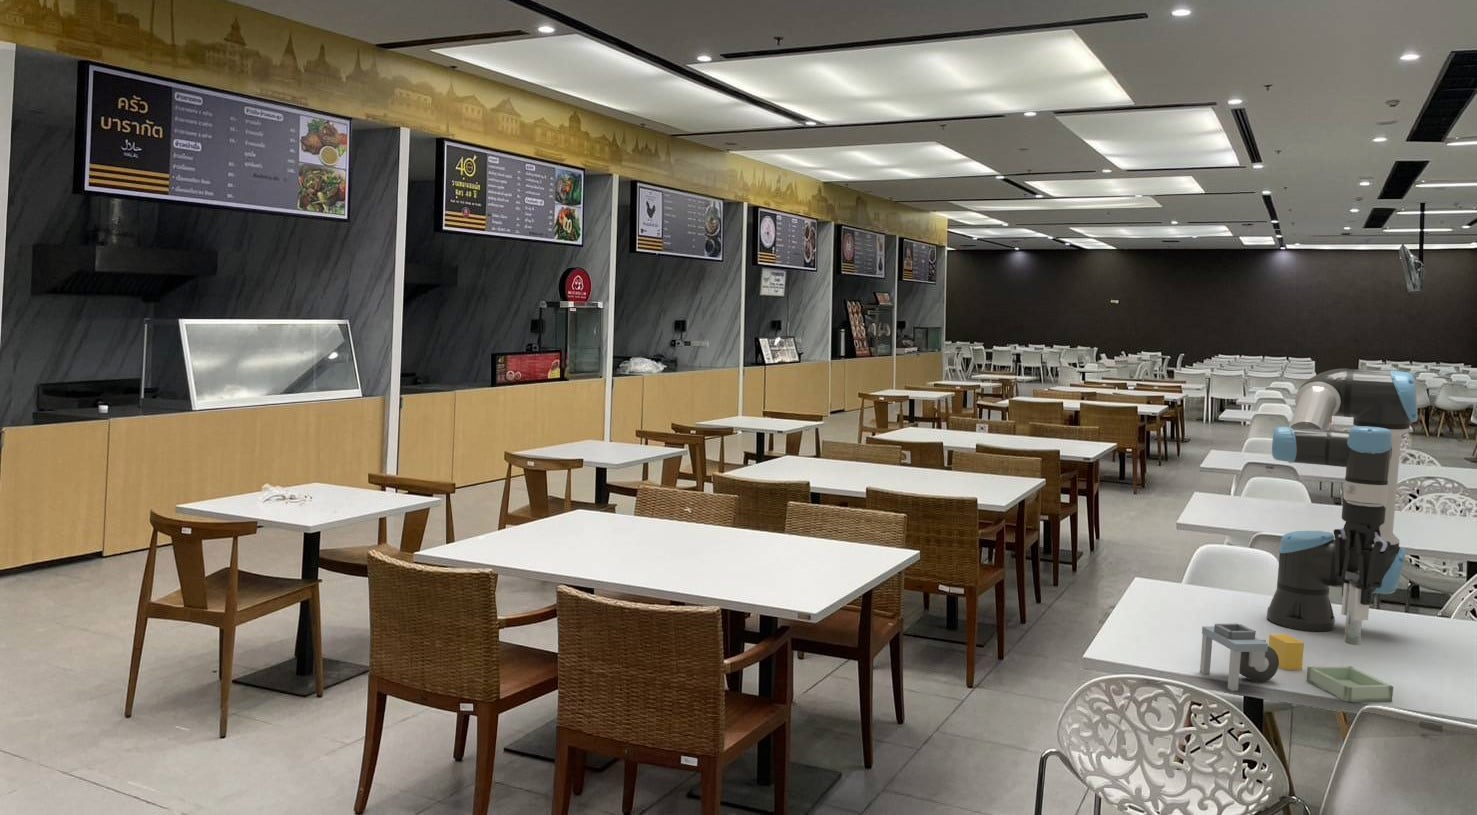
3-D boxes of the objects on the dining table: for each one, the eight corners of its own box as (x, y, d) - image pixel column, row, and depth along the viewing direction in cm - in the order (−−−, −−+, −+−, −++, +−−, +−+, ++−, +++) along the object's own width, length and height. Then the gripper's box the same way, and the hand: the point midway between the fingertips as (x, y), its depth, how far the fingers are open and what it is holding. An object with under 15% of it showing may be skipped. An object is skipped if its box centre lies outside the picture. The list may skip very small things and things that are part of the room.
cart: (1199, 671, 225) (1202, 619, 224) (1255, 670, 227) (1259, 619, 226) (1232, 691, 214) (1236, 637, 213) (1291, 690, 215) (1295, 636, 214)
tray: (1349, 680, 223) (1350, 666, 222) (1392, 701, 211) (1393, 686, 211) (1306, 680, 221) (1307, 667, 221) (1346, 702, 209) (1347, 687, 209)
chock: (1284, 660, 235) (1286, 634, 234) (1301, 669, 229) (1304, 642, 228) (1267, 660, 234) (1269, 634, 234) (1284, 670, 228) (1287, 643, 228)
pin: (1354, 639, 217) (1360, 570, 216) (1369, 646, 213) (1375, 575, 212) (1334, 639, 217) (1340, 569, 216) (1349, 646, 212) (1355, 575, 211)
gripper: (1320, 496, 220) (1311, 606, 222) (1376, 510, 204) (1365, 628, 206) (1353, 496, 221) (1344, 606, 223) (1410, 510, 205) (1400, 628, 207)
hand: (1354, 616), depth 214 cm, fingers closed on pin, 3 cm apart
